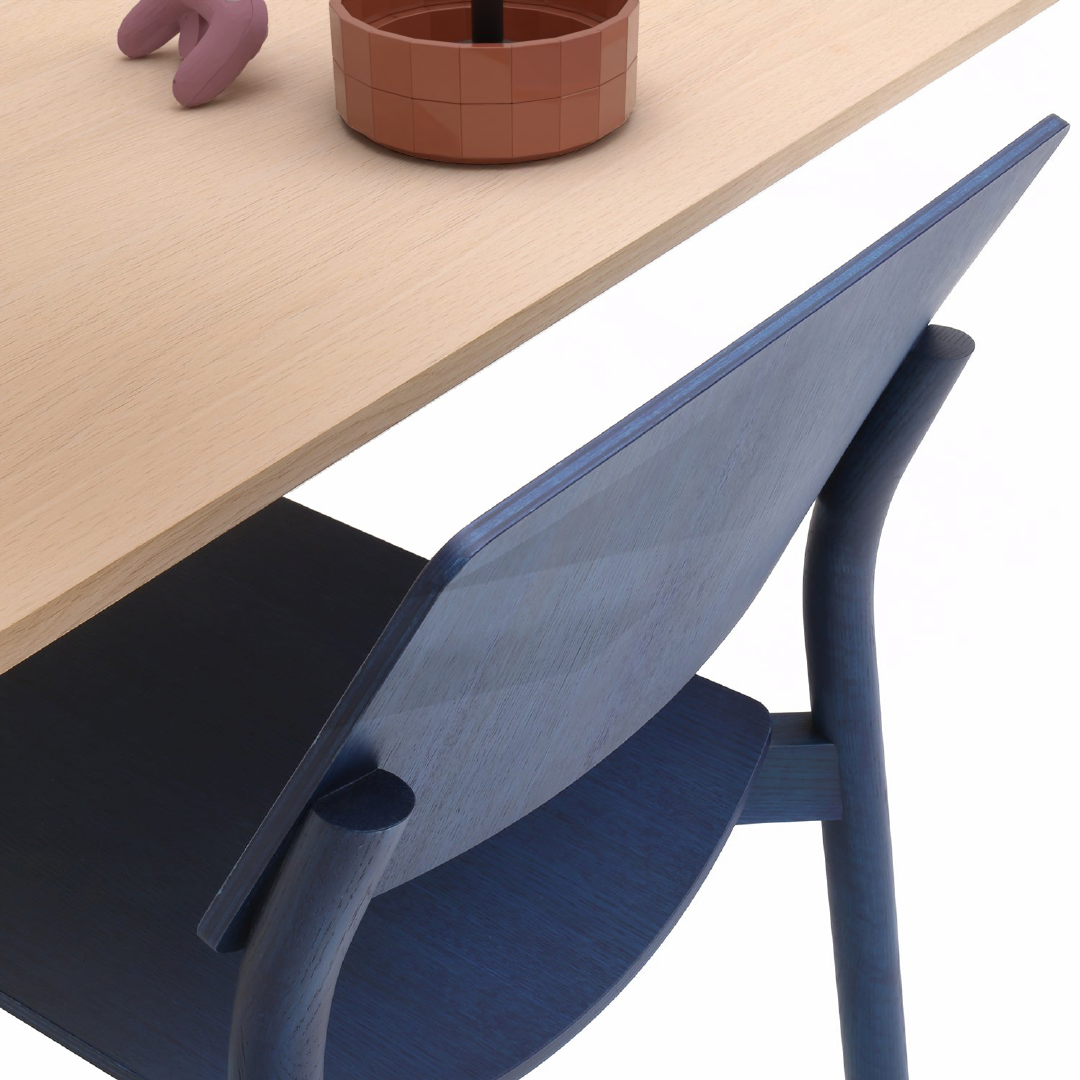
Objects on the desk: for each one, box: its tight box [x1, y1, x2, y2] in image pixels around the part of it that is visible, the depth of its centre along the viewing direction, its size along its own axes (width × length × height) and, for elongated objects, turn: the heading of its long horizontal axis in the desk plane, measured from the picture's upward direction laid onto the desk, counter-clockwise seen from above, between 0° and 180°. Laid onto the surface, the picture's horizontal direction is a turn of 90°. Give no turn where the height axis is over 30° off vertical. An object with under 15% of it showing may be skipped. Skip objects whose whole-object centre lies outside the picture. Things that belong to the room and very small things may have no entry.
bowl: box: [328, 0, 641, 165], centre depth 85 cm, size 15×15×6 cm
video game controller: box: [116, 0, 269, 108], centre depth 89 cm, size 10×5×7 cm, turn 31°
